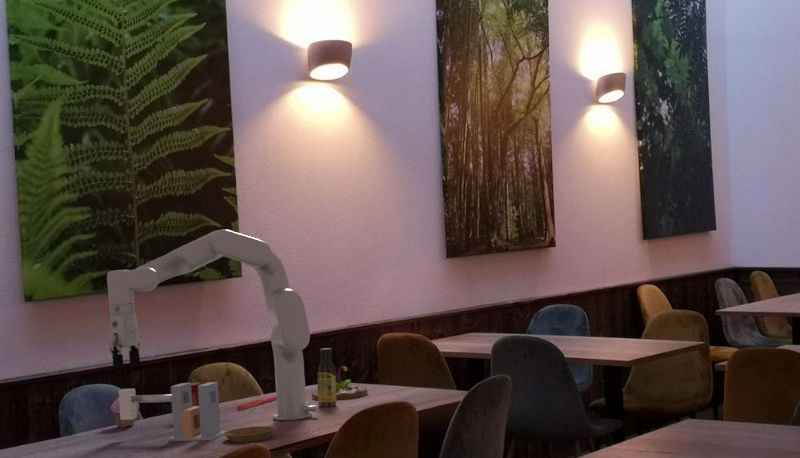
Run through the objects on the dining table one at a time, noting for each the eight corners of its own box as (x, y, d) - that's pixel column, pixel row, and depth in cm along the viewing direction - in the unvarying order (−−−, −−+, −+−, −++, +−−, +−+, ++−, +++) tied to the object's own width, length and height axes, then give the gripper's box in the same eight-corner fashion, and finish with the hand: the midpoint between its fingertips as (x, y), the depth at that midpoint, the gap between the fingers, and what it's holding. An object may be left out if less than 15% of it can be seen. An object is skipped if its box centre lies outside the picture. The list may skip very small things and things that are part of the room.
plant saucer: (232, 446, 309) (231, 437, 309) (219, 439, 323) (218, 430, 323) (281, 439, 315) (280, 430, 315) (267, 432, 329) (266, 424, 329)
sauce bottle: (315, 407, 373) (311, 349, 373) (323, 404, 379) (319, 347, 379) (332, 407, 371) (328, 349, 371) (340, 404, 376) (336, 347, 377)
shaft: (186, 416, 329) (185, 387, 330) (182, 418, 327) (180, 388, 327) (125, 418, 335) (123, 388, 335) (120, 419, 332) (118, 390, 333)
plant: (360, 400, 386) (358, 368, 386) (307, 402, 390) (305, 371, 390) (372, 392, 406) (370, 362, 406) (321, 394, 409) (319, 364, 409)
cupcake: (131, 423, 363) (129, 393, 364) (145, 425, 357) (143, 395, 357) (107, 427, 357) (105, 397, 357) (121, 429, 351) (119, 399, 351)
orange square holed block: (204, 432, 331) (202, 406, 331) (191, 437, 323) (189, 410, 323) (195, 432, 332) (194, 406, 332) (182, 437, 324) (181, 410, 324)
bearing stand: (225, 434, 330) (222, 381, 330) (211, 440, 320) (208, 386, 320) (184, 434, 334) (181, 382, 334) (168, 440, 324) (165, 387, 324)
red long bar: (234, 413, 379) (244, 409, 377) (232, 407, 379) (242, 403, 377) (270, 402, 401) (280, 398, 399) (268, 397, 401) (278, 393, 399)
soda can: (198, 420, 360) (195, 384, 360) (179, 421, 361) (176, 385, 361) (205, 417, 366) (203, 381, 367) (187, 418, 368) (184, 382, 368)
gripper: (118, 311, 324) (122, 368, 324) (147, 306, 341) (151, 361, 341) (96, 313, 327) (100, 370, 326) (126, 308, 343) (130, 362, 343)
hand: (126, 365), depth 334 cm, fingers open, 9 cm apart
